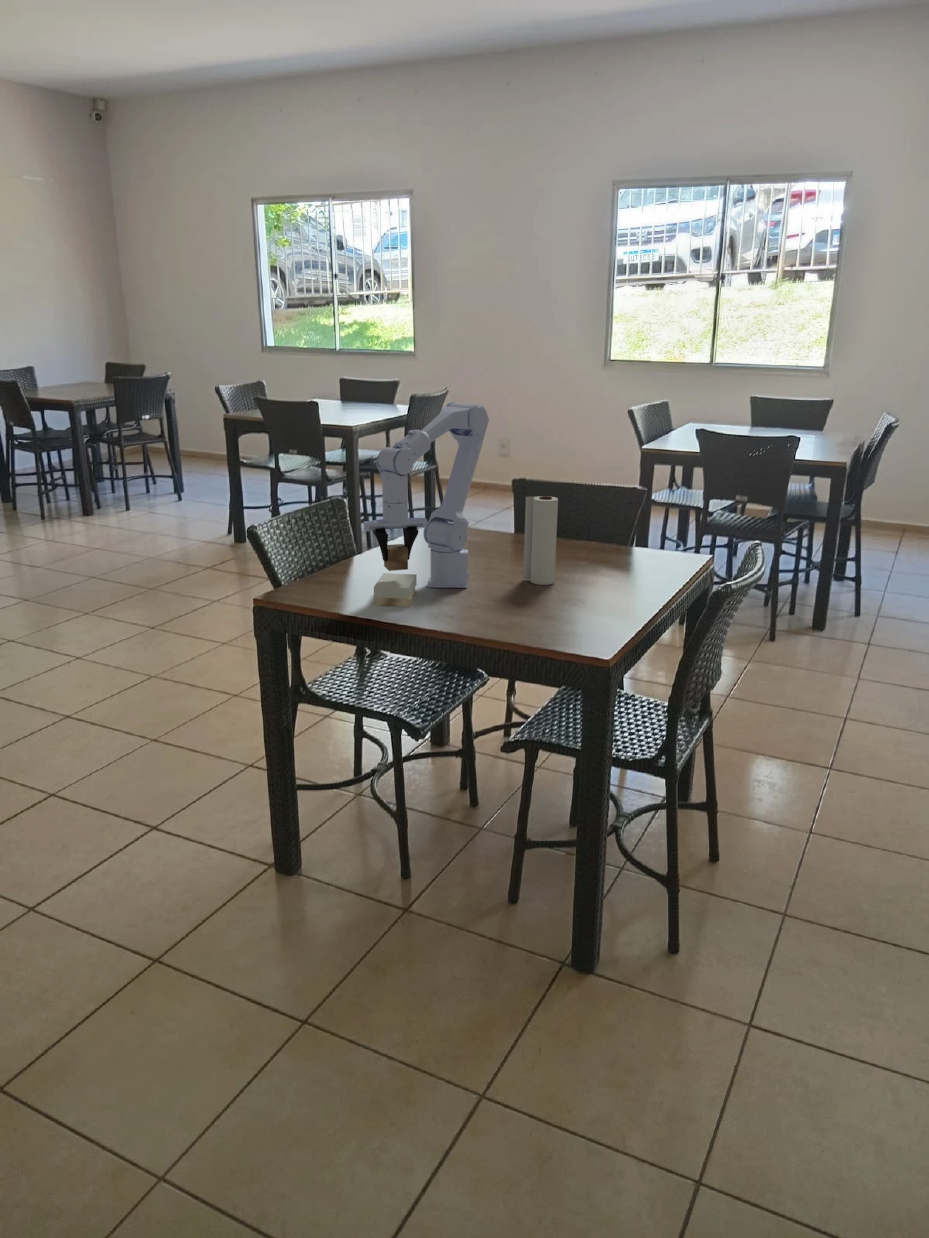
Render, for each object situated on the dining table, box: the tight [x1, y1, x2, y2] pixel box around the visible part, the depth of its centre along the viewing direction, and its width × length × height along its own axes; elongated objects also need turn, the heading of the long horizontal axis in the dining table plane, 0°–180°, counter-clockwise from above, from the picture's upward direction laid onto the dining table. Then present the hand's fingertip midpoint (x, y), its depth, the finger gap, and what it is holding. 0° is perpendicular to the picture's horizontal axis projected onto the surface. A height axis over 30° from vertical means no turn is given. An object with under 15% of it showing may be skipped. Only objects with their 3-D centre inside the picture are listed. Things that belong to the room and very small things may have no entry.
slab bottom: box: [375, 587, 416, 607], centre depth 216 cm, size 8×12×2 cm, turn 179°
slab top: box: [373, 572, 418, 599], centre depth 215 cm, size 8×12×2 cm, turn 174°
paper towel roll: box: [522, 495, 559, 586], centre depth 227 cm, size 7×6×21 cm
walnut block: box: [383, 543, 409, 572], centre depth 213 cm, size 4×4×5 cm
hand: (396, 559), depth 213 cm, fingers closed on walnut block, 4 cm apart
